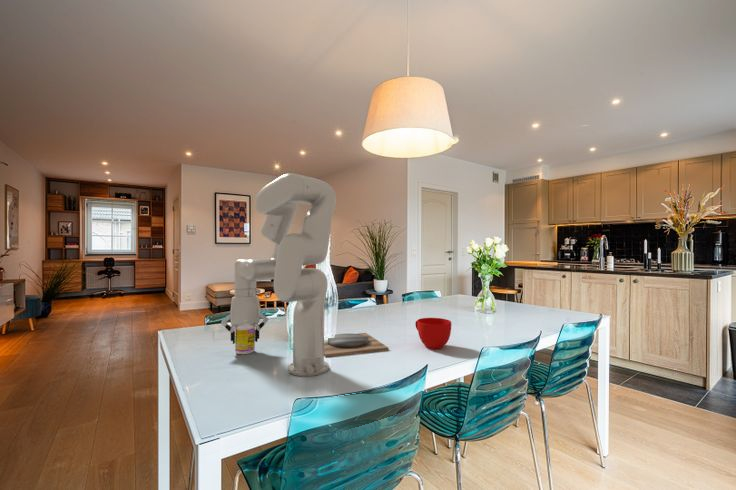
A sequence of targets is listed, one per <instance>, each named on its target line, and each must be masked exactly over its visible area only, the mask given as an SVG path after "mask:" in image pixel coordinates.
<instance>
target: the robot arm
mask: <svg viewBox="0 0 736 490" xmlns="http://www.w3.org/2000/svg"><path fill="white" fill-rule="evenodd" d="M255 197H256V198H255V199H254V200H255V203H254V205H255V208H256V210H257V212H258V213H259V214H261V215H265V219H264V222H263V224H262V226H261V229H260V233H261V235H262V236H263V237H264V238H265V239H266V240H268V241H270V242H272V243H274V250H273V253H272V255H271V258H258V259H257V258H254V259H253V258H250V259H249V258H240V259H237V260H236V261H234V296H232V297H231V300H230V301H231V302H230V312H229V315H227V316H226V317H224V318H223V319H222V320H221V323H220V324H221V325H222V326H223V327H224V328H225V329H226V330H227V331H228V332H230V342H232V344H233V345H234V344H235V335H236V326H237V325H242V324H245V323H247V324H254V325H255V343H257V342H258V339H260V330H261V329H262V328H263V327H265V325H266V324H267V323H268V322H269V318H268V317H267V316H266V315H264V314H263V313H261V310H260V309H261V308H260V299H259V295H258V294H261V288H260V289H258V288H257V282H259V281H266V280H268V281H269V280H273V291H274V292H273V293H274V295H275V296H276V298H277V299H278V300H279V301H280V302H283V303H293V302H295V306H294V309H293V315H292V316H293V318H292V319H293V320H292V323H293V324H292V325H293V327H292V330H293V331H292V336H293V337H292V341H293V342H292V362H291V363H289V365H288V366H287V372H288V373H289V374H291V375H293V376H298V377H299V376H300V377H313V376H317V375H321V374H324V373H326V372H328V370H329V368H330V367H329V366H330V365H329V363H328V362H327V361H325V356H324V336H325V305H326V303H325V302H326V297H327V292H328V286H329V285H328V278H327V276H326V274H325V273H324V272H323V271H322V270H321V269H318V268H315V267H307V268H306V267H305V268H303V266H311V265H312V266H313V265H320V264H321V263H324V262H325V261H326V258H327V255H328V251H329V245H330V237H331V231H332V222H333V219H334V214H335V209H336V205H337V197H336V193H335V190H334V188H333V187H332V186H331V185H330V184H329V183H327V182H326V181H324V180H322V179H319V178H316V177H311V176H307V175H302V174H298V173H291V172H290V173H285V174H283V175H281V176H279V177H278V178H275V179H274V180H273V181H271V182H269V183H268V184H266V185H265V186H263V187H262V188H261V189H260V190H259V192H258V193H257V195H256V196H255ZM299 204H301V205H309V206H311V207H310V208H309V209H308V211H307V212H306V214H305V216H304V219H303V224H302V225H303V226H302V231H301V232H298V233H297V232H294V233H293V232H292V233H289V230H290V228H291V225H292V223H293V221H294V218H295V216H296V214H297V211H298V208H299ZM245 319H247V321H244V320H245ZM261 319H262V321H261ZM229 320H230V324H231V325H230V324H228V322H229ZM260 321H261V322H260Z"/></svg>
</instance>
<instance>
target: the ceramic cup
mask: <svg viewBox="0 0 736 490" xmlns="http://www.w3.org/2000/svg"><path fill="white" fill-rule="evenodd" d="M414 323H415V328H416V330H417V333H418V337H419V339H420V341H421V342H422V344H423V345H424V346H425V348H427V349H430V350H441V349H443V348H444V347H445V346H446V345H447V343H448V341H449V339H450V337H451V333H452V321H451V320H449V319H446V318H441V317H422V318H418V319H417V320H416V321H415V322H414Z"/></svg>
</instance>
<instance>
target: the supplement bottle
mask: <svg viewBox="0 0 736 490" xmlns="http://www.w3.org/2000/svg"><path fill="white" fill-rule="evenodd" d="M244 321H247V319H245V320H244ZM255 330H256V327H255V325H254V324H247V323H245V324H242V325H237V326H236V328H235V343H234V344H235V345H234V346H235V347H234V348H235V349H234V351H235V354H238V355H249V354H252V353H254V352H255V347H256V345H255V343H256V342H255Z"/></svg>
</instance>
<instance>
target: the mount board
mask: <svg viewBox="0 0 736 490" xmlns="http://www.w3.org/2000/svg"><path fill="white" fill-rule="evenodd" d="M334 335H335V337H334V338H328V342H325V343H324V358H332V357H340V356H350V355H357V354H368V353H377V352H385V351H389V349H390V348H389V347H388V346H387V345H386V344H384V343H383V342H380V341H379V340H378V339H376V338H375V337H373V336H371V335H370V334H368V333H367V332H359V333H339V334H334Z"/></svg>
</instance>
